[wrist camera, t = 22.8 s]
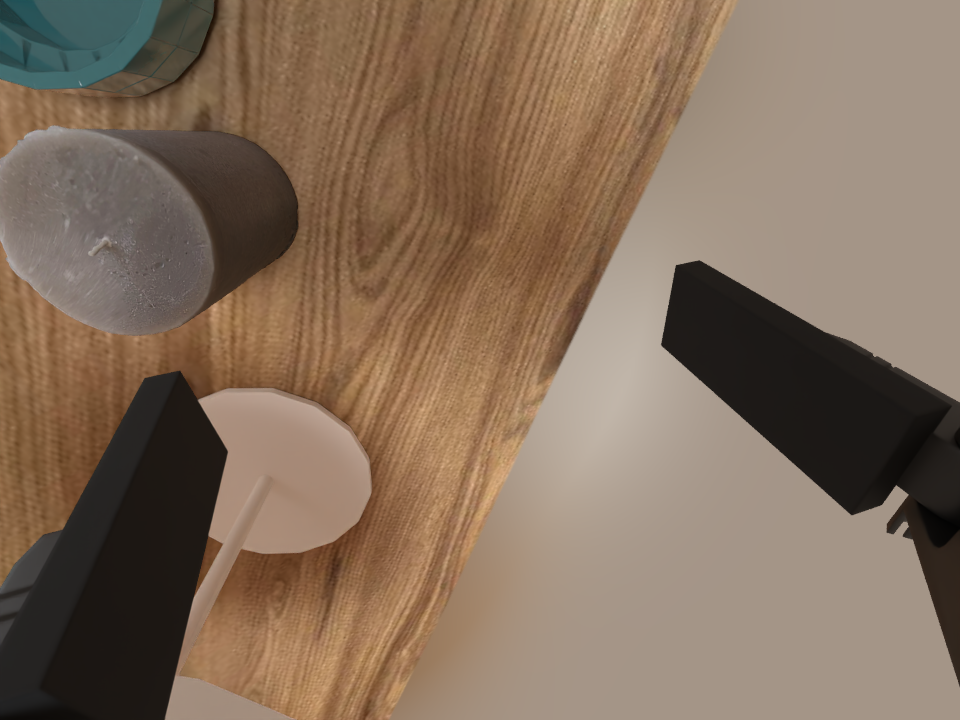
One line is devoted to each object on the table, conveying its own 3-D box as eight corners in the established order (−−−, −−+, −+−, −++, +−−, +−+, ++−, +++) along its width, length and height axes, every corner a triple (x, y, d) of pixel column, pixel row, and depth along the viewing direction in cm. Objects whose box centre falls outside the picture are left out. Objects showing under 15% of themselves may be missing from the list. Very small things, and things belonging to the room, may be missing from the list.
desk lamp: (397, 591, 53) (344, 1100, 25) (117, 565, 48) (-339, 1160, 20) (448, 369, 41) (457, 878, 13) (80, 305, 36) (-1215, 896, 8)
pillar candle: (323, 240, 35) (247, 304, 22) (213, 287, 36) (76, 376, 23) (249, 106, 31) (99, 81, 17) (127, 163, 32) (-104, 182, 18)
